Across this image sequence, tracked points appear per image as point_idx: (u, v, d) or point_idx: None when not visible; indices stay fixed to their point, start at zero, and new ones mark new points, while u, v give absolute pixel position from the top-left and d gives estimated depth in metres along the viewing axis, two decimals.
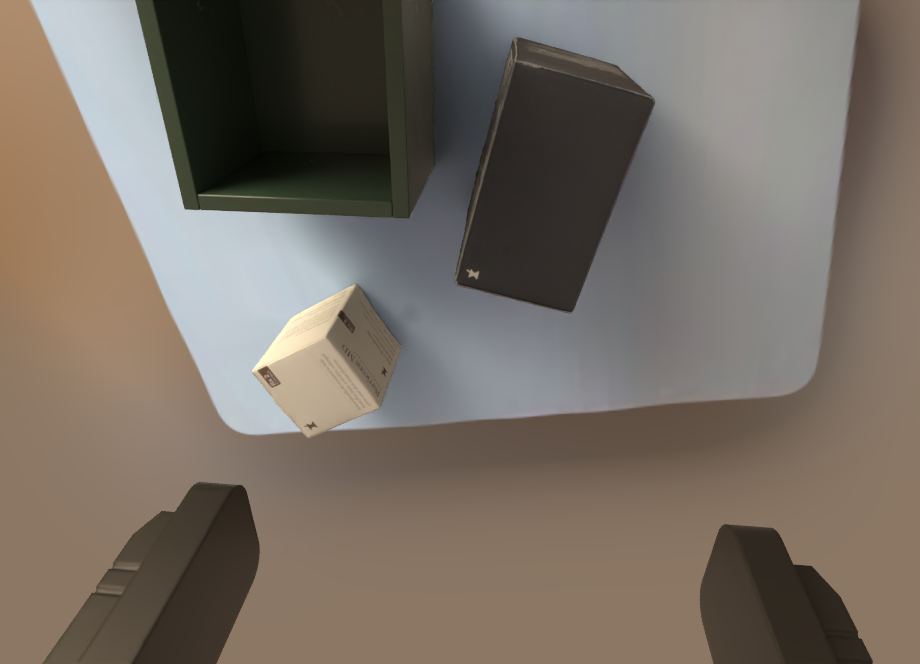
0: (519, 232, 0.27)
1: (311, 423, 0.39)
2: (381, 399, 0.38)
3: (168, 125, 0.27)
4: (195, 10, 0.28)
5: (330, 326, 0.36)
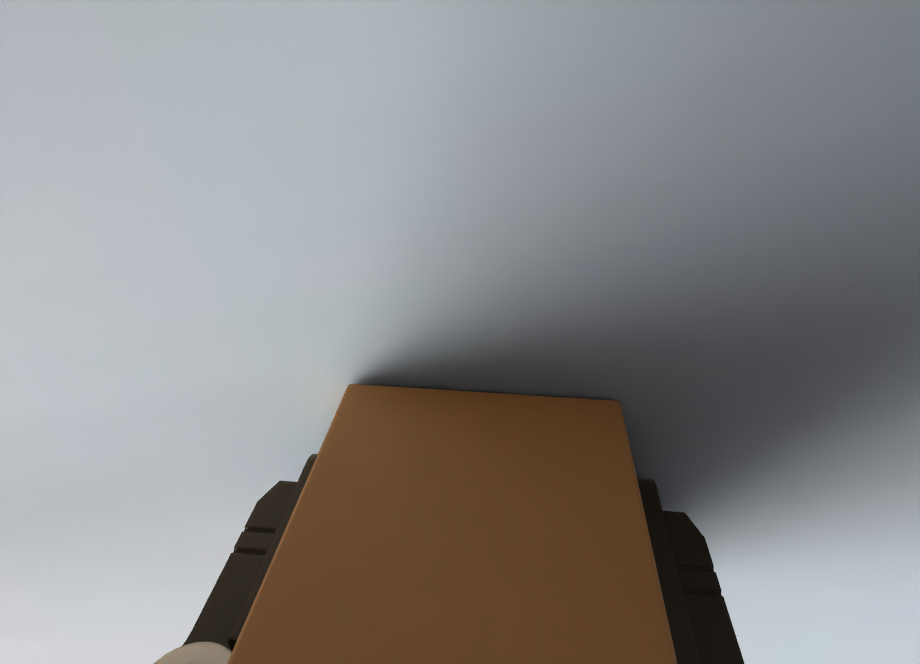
0: None
1: None
2: None
3: None
4: None
5: None
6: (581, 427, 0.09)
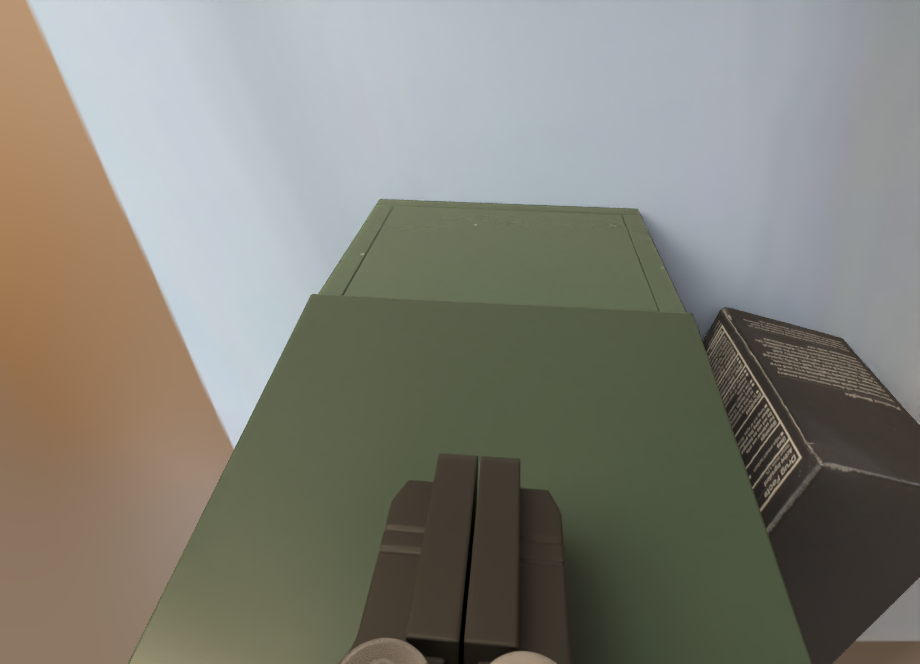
0: None
1: None
2: None
3: None
4: None
5: None
6: None
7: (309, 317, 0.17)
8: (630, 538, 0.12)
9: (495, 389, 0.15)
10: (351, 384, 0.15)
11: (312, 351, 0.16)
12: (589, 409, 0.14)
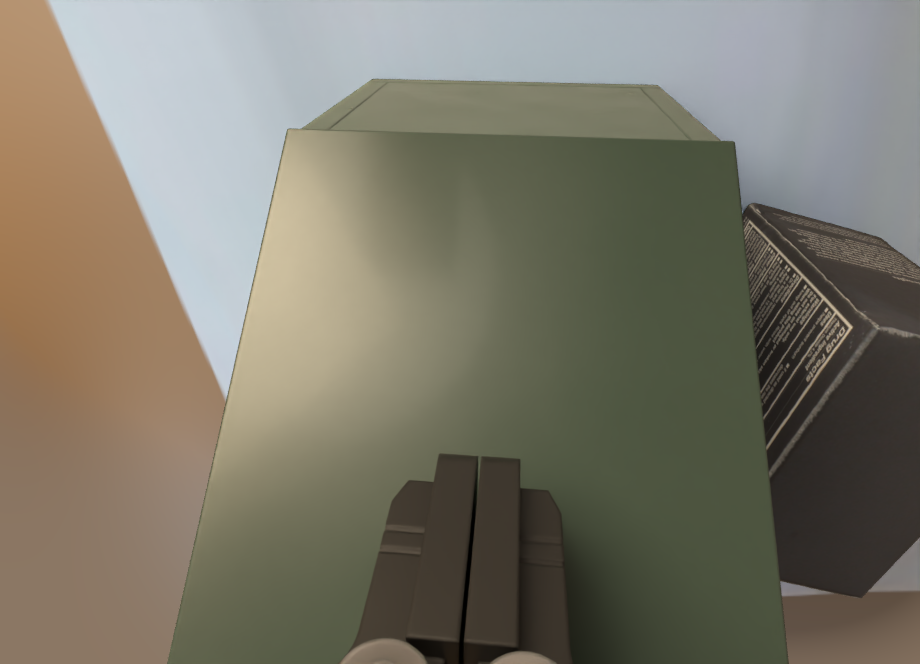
0: (818, 517, 0.20)
1: None
2: None
3: None
4: None
5: None
6: None
7: (290, 166, 0.15)
8: (629, 439, 0.12)
9: (501, 262, 0.14)
10: (346, 261, 0.14)
11: (299, 217, 0.14)
12: (601, 286, 0.13)
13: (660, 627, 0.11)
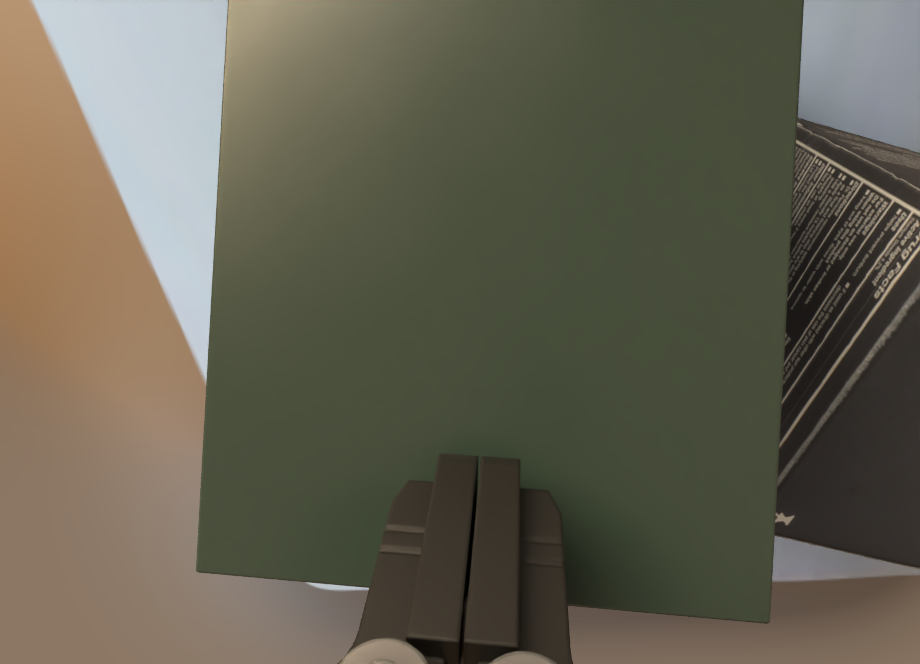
0: (884, 468, 0.16)
1: None
2: None
3: None
4: None
5: None
6: None
7: (240, 18, 0.12)
8: (638, 353, 0.11)
9: (503, 147, 0.12)
10: (322, 149, 0.12)
11: (261, 90, 0.12)
12: (619, 175, 0.11)
13: (654, 533, 0.11)
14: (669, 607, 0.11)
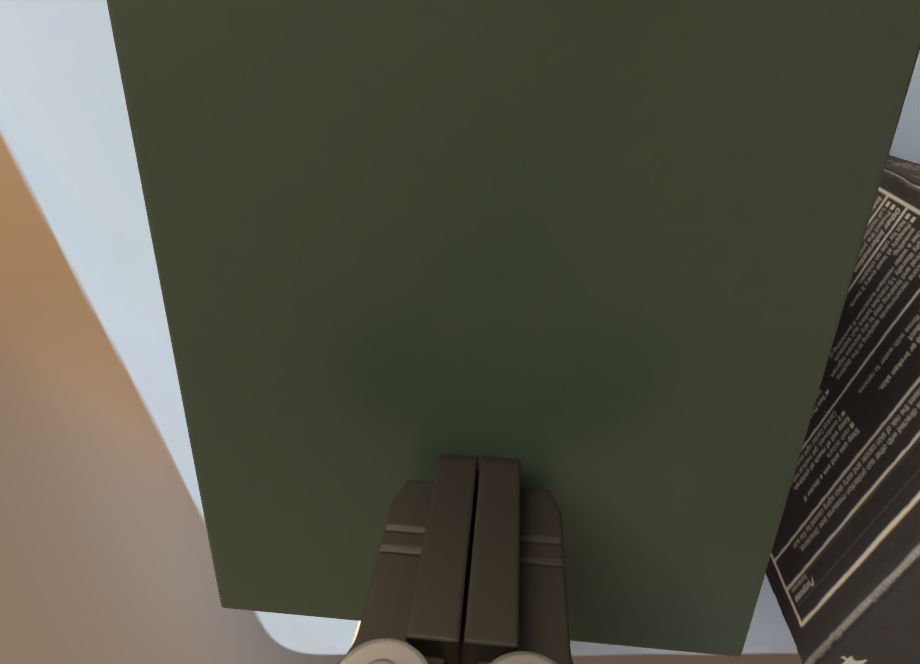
0: None
1: None
2: None
3: None
4: None
5: None
6: None
7: (135, 52, 0.09)
8: (642, 450, 0.11)
9: (495, 230, 0.09)
10: (273, 231, 0.10)
11: (184, 155, 0.09)
12: (638, 266, 0.09)
13: (643, 593, 0.12)
14: (650, 643, 0.13)
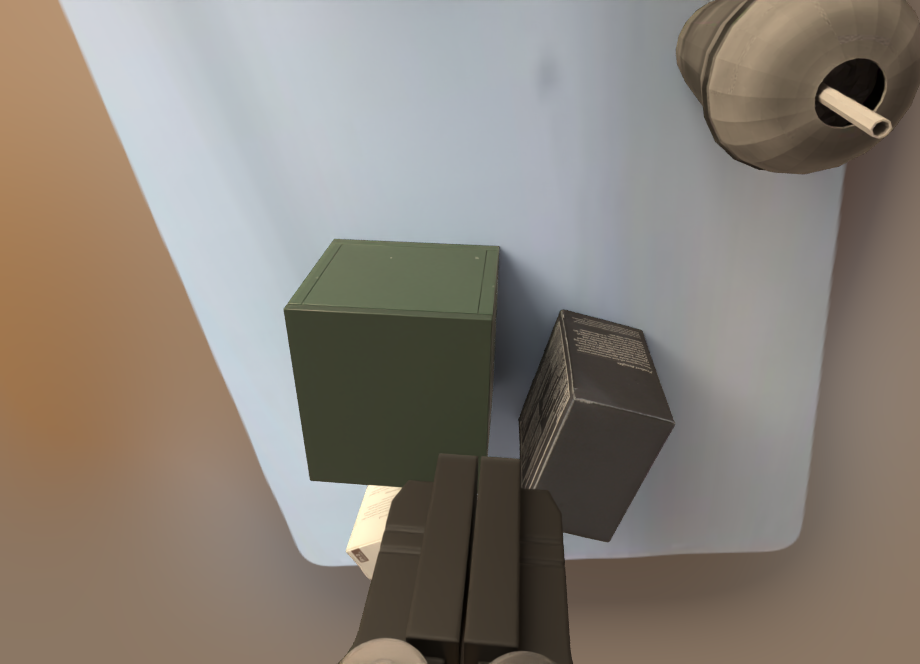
0: (571, 494, 0.36)
1: None
2: None
3: None
4: None
5: None
6: None
7: (291, 328, 0.33)
8: (441, 429, 0.35)
9: (391, 371, 0.33)
10: (329, 370, 0.34)
11: (303, 351, 0.33)
12: (431, 381, 0.34)
13: None
14: None
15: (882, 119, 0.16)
